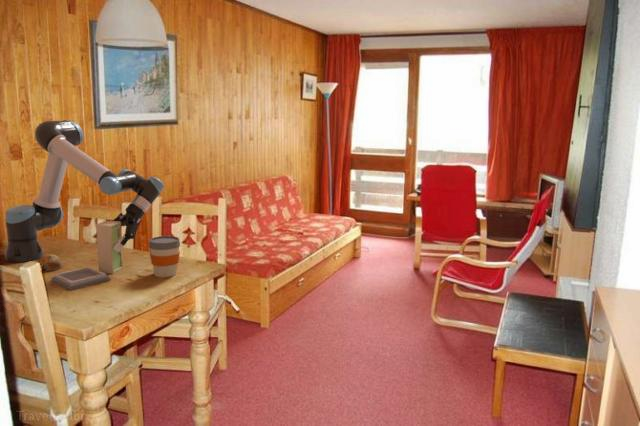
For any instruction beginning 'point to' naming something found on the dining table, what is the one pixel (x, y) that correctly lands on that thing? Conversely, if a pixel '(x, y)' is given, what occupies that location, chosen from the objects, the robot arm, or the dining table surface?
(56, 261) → the bread roll
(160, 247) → the reusable coffee cup
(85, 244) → the dining table surface
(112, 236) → the toy refrigerator
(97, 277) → the base plate
